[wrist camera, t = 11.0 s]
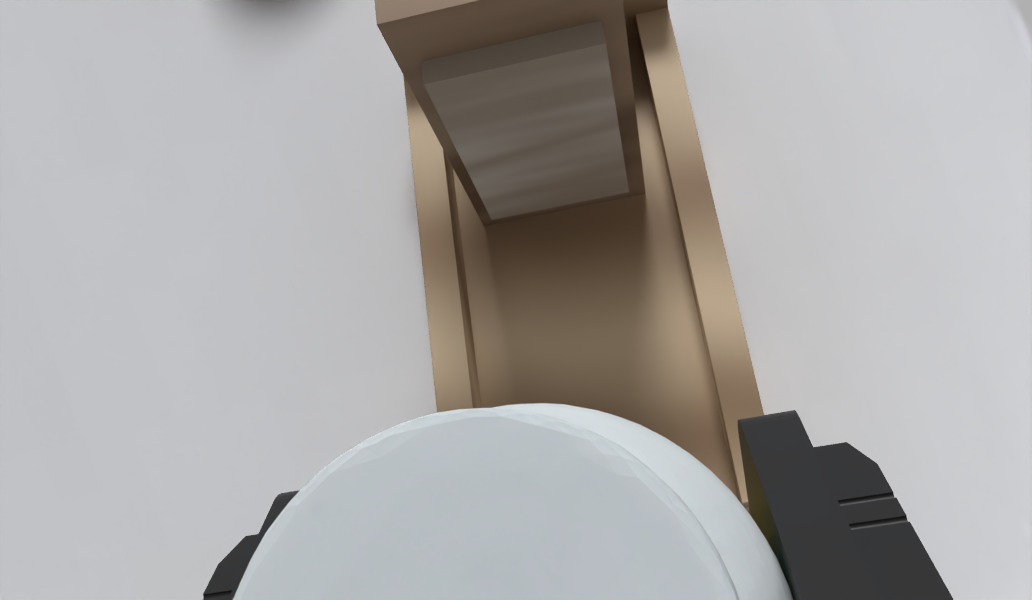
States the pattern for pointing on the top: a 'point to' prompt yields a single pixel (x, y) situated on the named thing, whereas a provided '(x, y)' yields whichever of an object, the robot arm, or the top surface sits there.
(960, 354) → the top surface
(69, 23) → the top surface
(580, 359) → the wooden box stand
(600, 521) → the supplement bottle
